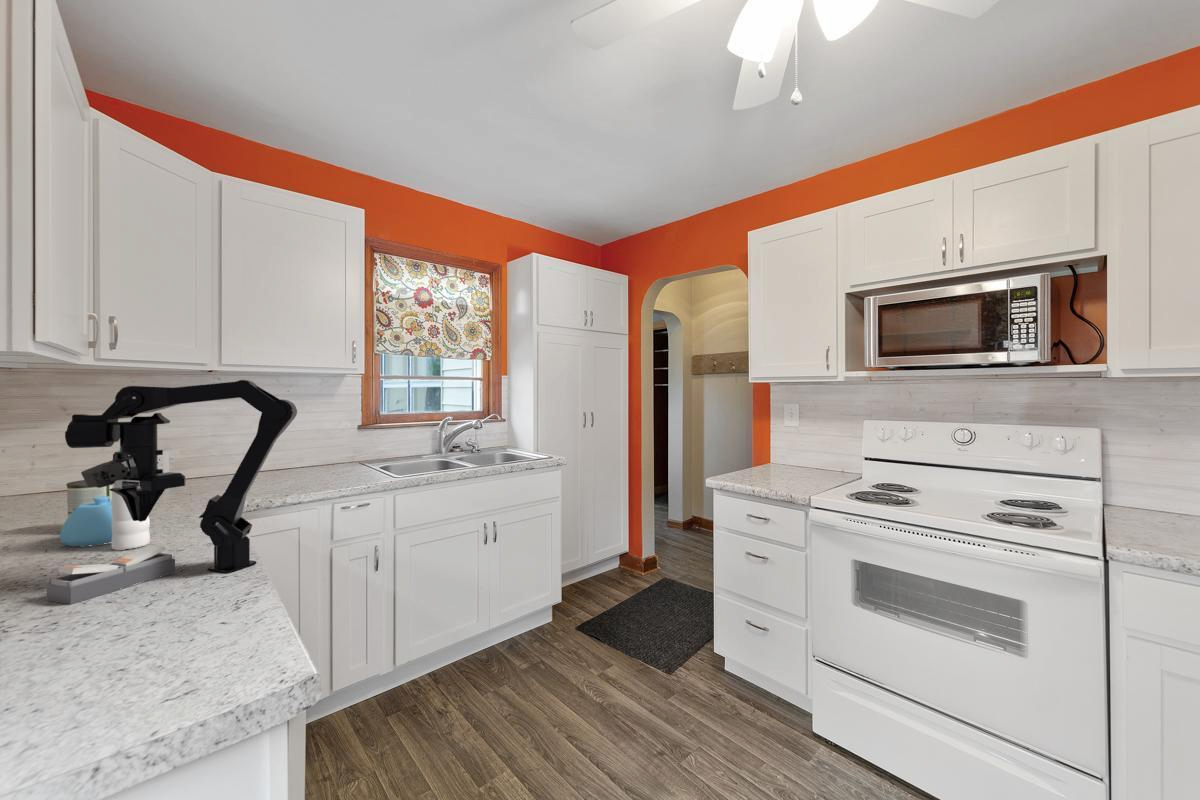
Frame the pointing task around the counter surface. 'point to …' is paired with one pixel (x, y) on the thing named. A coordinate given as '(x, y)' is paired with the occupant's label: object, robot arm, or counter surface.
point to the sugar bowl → (89, 524)
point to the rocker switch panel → (107, 579)
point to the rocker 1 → (87, 568)
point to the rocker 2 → (139, 555)
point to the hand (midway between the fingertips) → (139, 520)
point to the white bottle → (127, 526)
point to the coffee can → (84, 494)
